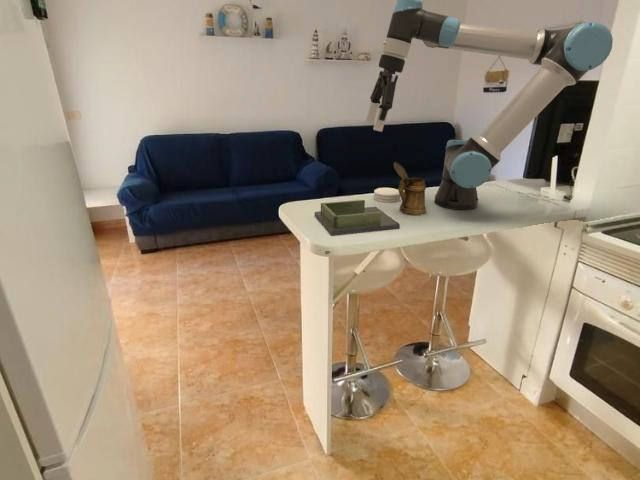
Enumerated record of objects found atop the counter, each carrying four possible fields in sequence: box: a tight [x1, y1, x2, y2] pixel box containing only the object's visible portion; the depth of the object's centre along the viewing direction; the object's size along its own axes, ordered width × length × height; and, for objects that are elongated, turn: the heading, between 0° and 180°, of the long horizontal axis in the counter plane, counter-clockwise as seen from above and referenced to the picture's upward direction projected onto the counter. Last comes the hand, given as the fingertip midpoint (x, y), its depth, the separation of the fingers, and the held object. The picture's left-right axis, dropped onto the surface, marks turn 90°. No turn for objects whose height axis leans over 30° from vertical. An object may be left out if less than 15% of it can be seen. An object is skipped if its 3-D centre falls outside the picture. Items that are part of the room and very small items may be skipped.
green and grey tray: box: [314, 199, 401, 237], centre depth 125 cm, size 22×18×5 cm
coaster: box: [373, 187, 401, 204], centre depth 149 cm, size 10×10×4 cm
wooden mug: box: [393, 161, 427, 216], centre depth 132 cm, size 9×14×18 cm, turn 113°
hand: (373, 126), depth 127 cm, fingers open, 13 cm apart
